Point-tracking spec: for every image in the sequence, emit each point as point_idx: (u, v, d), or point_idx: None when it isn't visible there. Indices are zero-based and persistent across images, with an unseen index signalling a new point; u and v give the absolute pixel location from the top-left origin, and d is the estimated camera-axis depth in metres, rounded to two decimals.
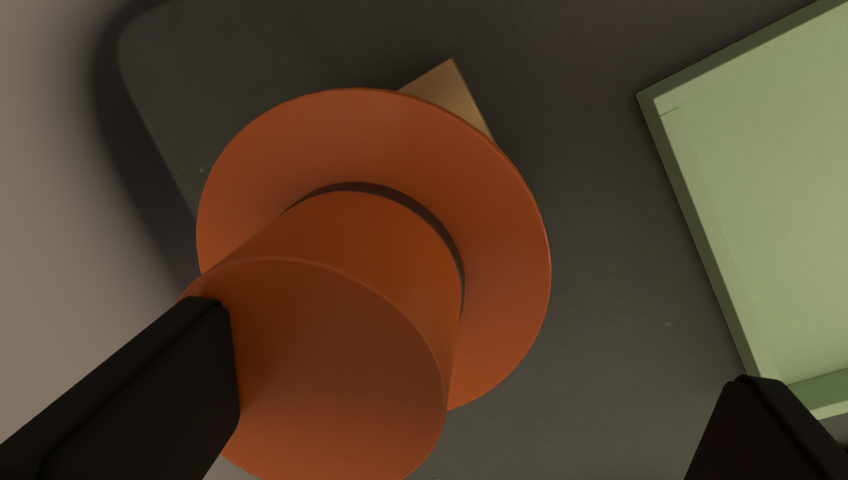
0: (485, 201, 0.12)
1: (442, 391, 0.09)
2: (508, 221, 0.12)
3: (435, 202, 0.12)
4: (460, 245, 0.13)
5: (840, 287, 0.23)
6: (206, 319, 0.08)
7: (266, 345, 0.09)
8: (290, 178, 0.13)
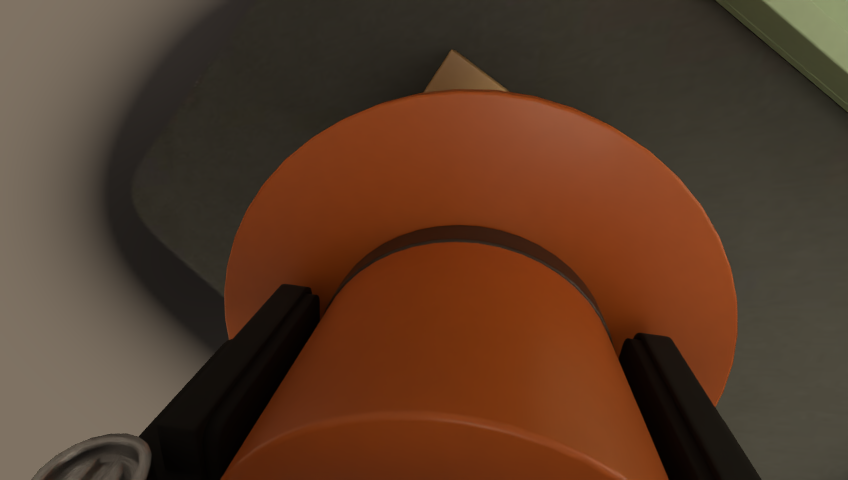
0: (580, 185, 0.08)
1: None
2: (625, 198, 0.08)
3: (510, 218, 0.09)
4: (570, 260, 0.09)
5: None
6: (305, 304, 0.09)
7: None
8: (315, 269, 0.10)
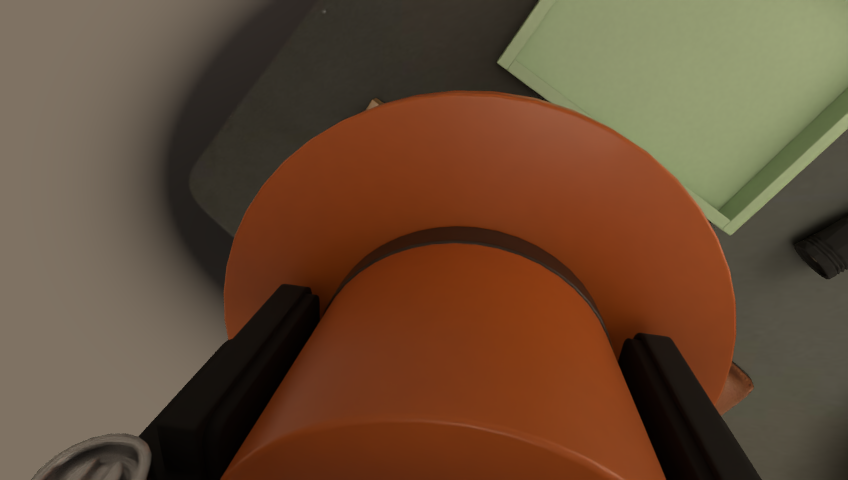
0: (579, 187, 0.08)
1: None
2: (624, 199, 0.08)
3: (509, 219, 0.09)
4: (569, 261, 0.09)
5: (713, 115, 0.30)
6: (305, 305, 0.09)
7: None
8: (315, 270, 0.10)
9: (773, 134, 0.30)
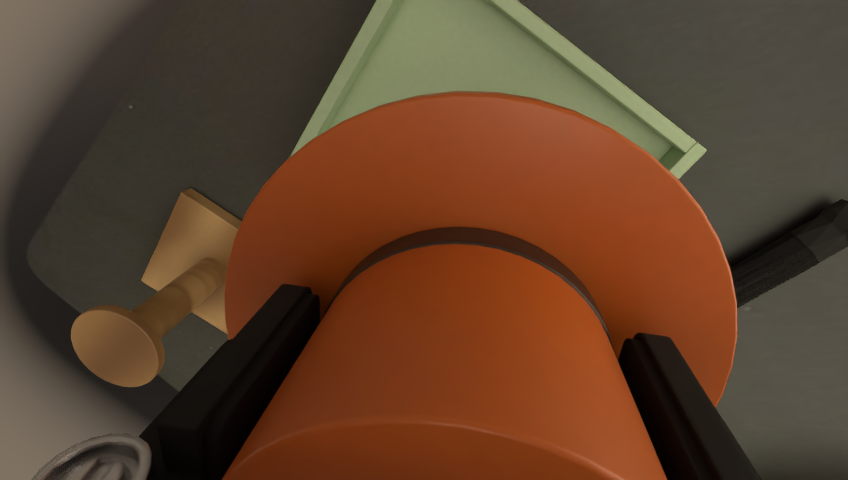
0: (580, 187, 0.08)
1: None
2: (625, 200, 0.08)
3: (510, 219, 0.09)
4: (569, 261, 0.09)
5: None
6: (305, 304, 0.09)
7: None
8: (315, 270, 0.10)
9: None
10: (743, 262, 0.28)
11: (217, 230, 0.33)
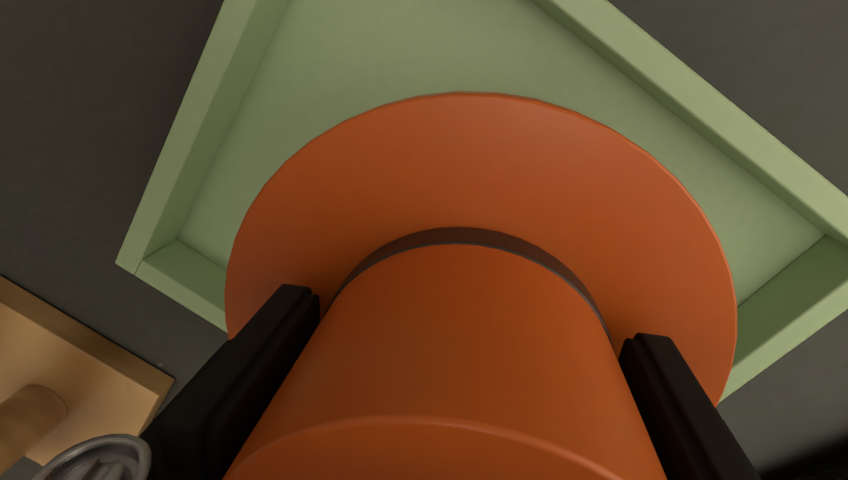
0: (580, 188, 0.08)
1: None
2: (625, 200, 0.08)
3: (510, 220, 0.09)
4: (569, 261, 0.09)
5: None
6: (305, 305, 0.09)
7: None
8: (315, 270, 0.10)
9: None
10: None
11: (39, 345, 0.20)
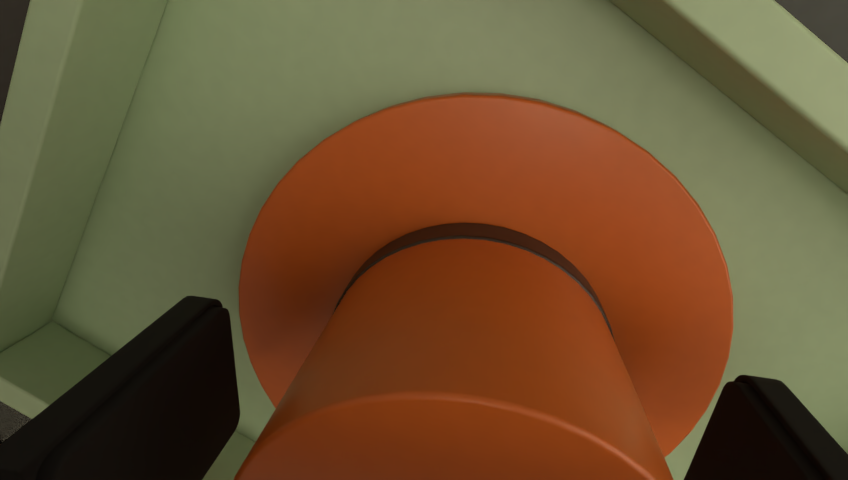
0: (582, 185, 0.09)
1: None
2: (625, 197, 0.08)
3: (515, 216, 0.09)
4: (571, 256, 0.09)
5: None
6: (206, 319, 0.08)
7: None
8: (327, 265, 0.10)
9: None
10: None
11: None
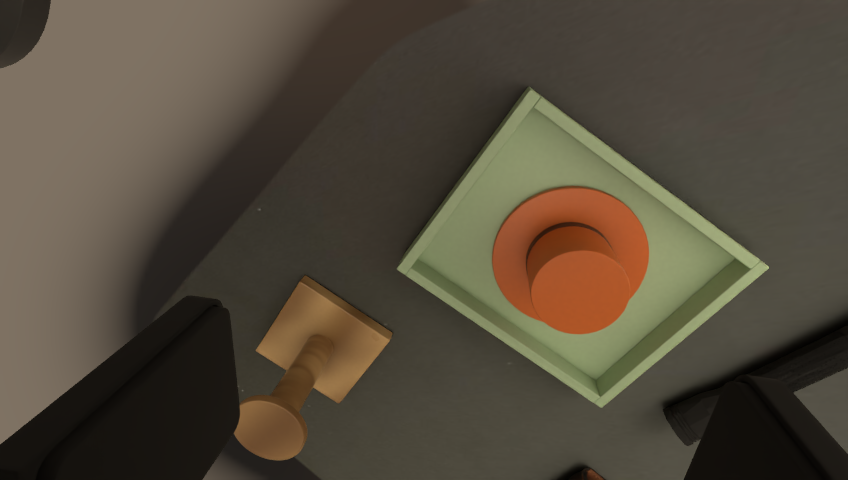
0: (604, 211, 0.31)
1: (624, 273, 0.27)
2: (617, 214, 0.31)
3: (585, 220, 0.32)
4: (601, 231, 0.32)
5: None
6: (206, 319, 0.08)
7: (565, 282, 0.28)
8: (526, 235, 0.33)
9: (635, 326, 0.35)
10: (797, 353, 0.33)
11: (328, 312, 0.38)
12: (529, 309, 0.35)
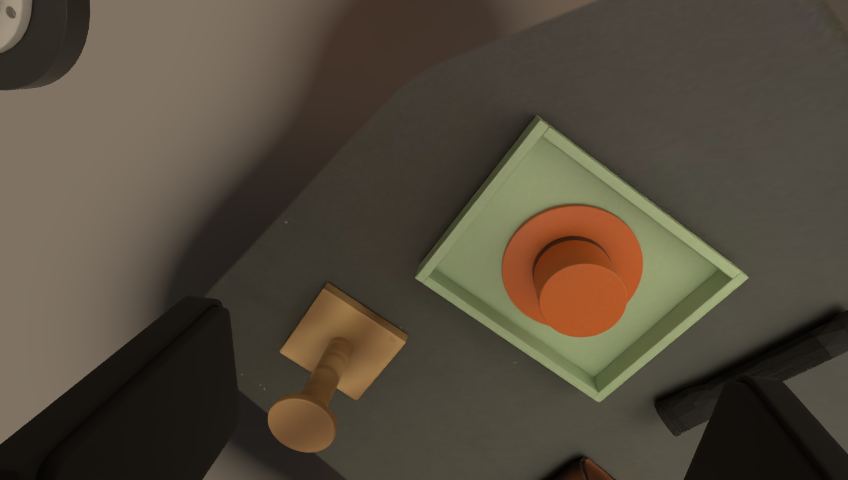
0: (604, 227, 0.35)
1: (622, 284, 0.31)
2: (614, 230, 0.35)
3: (587, 234, 0.35)
4: (601, 244, 0.35)
5: None
6: (206, 319, 0.08)
7: (569, 291, 0.32)
8: (533, 247, 0.36)
9: (630, 328, 0.38)
10: (773, 353, 0.37)
11: (349, 317, 0.41)
12: (535, 314, 0.38)
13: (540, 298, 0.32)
